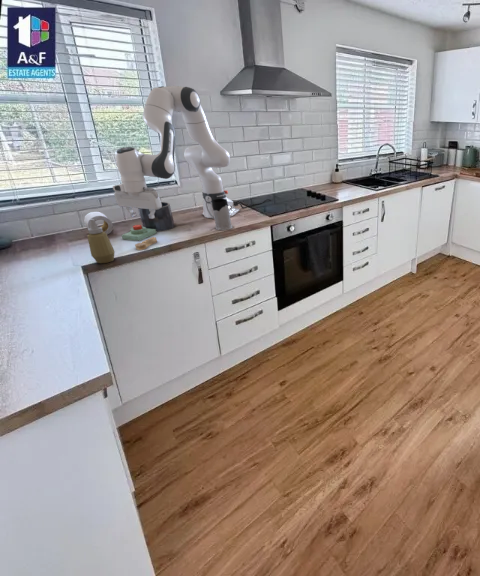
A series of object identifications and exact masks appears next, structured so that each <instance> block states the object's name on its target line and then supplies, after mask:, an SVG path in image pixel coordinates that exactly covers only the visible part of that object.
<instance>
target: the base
mask: <svg viewBox="0 0 480 576" xmlns="http://www.w3.org/2000/svg"><path fill="white" fill-rule="evenodd" d="M156 234H157V231H156V229H148V228H146V227H143V226H142V229H139V230H134V229H133V227H131V228H129V232H125V233H124V234H121V239H122V240H128V241H136V242H137V241H142V240H144V239H146V238H148V237H151V236H153V235H156Z"/></svg>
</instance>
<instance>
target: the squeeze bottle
mask: <svg viewBox="0 0 480 576" xmlns="http://www.w3.org/2000/svg"><path fill="white" fill-rule="evenodd" d="M90 225H91V228H89V229H88V228H87V231H88V233H87V235H86V237H87V241H88V246H89V251H90V255H91V257H92V258H93V259H94V261H95V262H96V263H97V264H107V263H111V262H113V261H114V260H115V252H116V251H115V249H114V247H113V244H112V243H111V240H110V238H109V236H108V235H107V234H106V233H105V232H103V230H102V227H101V226H98V224H97V221H94V219H91V220H90Z"/></svg>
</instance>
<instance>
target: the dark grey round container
mask: <svg viewBox="0 0 480 576" xmlns="http://www.w3.org/2000/svg"><path fill="white" fill-rule="evenodd" d="M161 204H162V207H161V208H160V209H157V210H155V213H154V216H155V218H153V219H151V218H149V214H150V212H151V211H149V209H143V208H137V211H138V214H139V218H140V221H141V226H142V227H146V228H148V229H156V232H164V231H168V230H171V229H173V228H175V227H176V226H175V221H174V216H173V212H172V207H171V203H169V202H167V201H161Z"/></svg>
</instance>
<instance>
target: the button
mask: <svg viewBox="0 0 480 576" xmlns="http://www.w3.org/2000/svg"><path fill="white" fill-rule="evenodd" d="M142 227H143V226H142V224H135V225H132V228H133V229H134V230H139V229H142Z"/></svg>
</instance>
